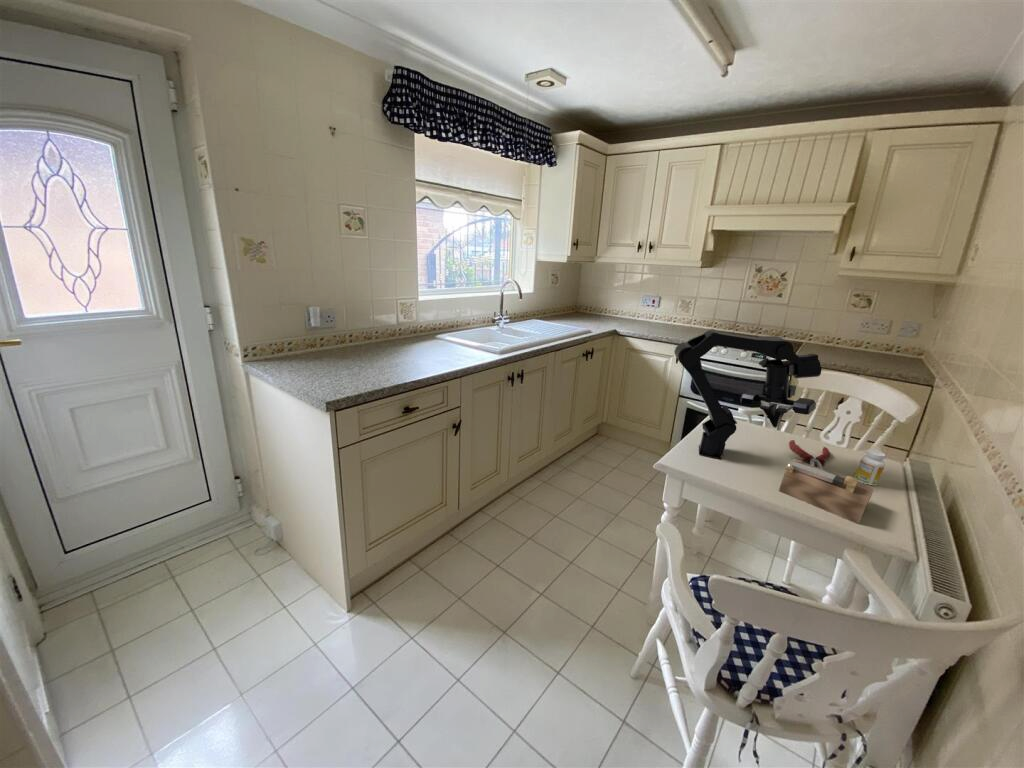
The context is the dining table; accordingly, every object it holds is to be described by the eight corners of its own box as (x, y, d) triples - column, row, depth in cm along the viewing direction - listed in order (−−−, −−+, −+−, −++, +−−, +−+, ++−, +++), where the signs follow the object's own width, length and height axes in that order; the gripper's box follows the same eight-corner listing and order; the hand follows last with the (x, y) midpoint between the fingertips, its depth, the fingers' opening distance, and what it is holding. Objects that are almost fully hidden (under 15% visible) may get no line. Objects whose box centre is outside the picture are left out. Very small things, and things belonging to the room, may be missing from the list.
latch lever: (786, 468, 118) (787, 464, 117) (790, 463, 120) (791, 459, 120) (840, 486, 109) (842, 482, 109) (844, 481, 112) (845, 477, 111)
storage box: (777, 490, 117) (785, 465, 114) (790, 475, 125) (797, 452, 122) (858, 524, 104) (869, 496, 102) (867, 505, 112) (877, 479, 110)
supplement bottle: (872, 478, 126) (883, 450, 123) (880, 488, 121) (892, 458, 118) (851, 474, 128) (861, 446, 124) (858, 483, 123) (869, 454, 119)
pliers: (794, 470, 129) (797, 463, 128) (787, 444, 146) (789, 437, 145) (839, 481, 124) (842, 474, 123) (826, 453, 141) (828, 446, 140)
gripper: (824, 375, 121) (821, 424, 126) (756, 368, 136) (755, 412, 141) (809, 387, 115) (806, 438, 120) (740, 378, 130) (739, 423, 135)
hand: (775, 427), depth 129 cm, fingers closed
